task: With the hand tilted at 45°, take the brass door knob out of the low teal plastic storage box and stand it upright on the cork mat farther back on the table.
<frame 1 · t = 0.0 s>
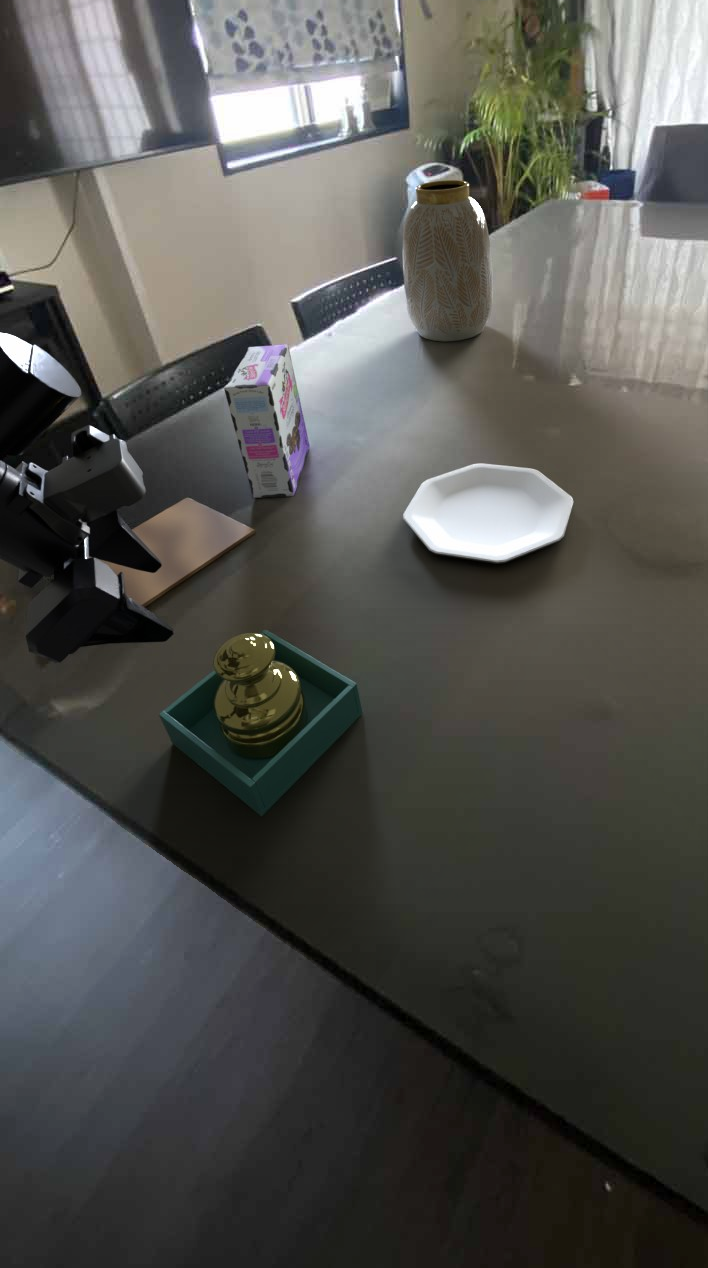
hand: (163, 600, 56), 13 cm above the table, tool tilted 35°, fingers open, 9 cm apart
storage box: (268, 728, 61), on the table
brass door knob: (267, 726, 61), resting on storage box
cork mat: (162, 552, 84), on the table
vase: (451, 330, 138), on the table
candy box: (283, 472, 97), on the table
plate: (488, 518, 84), on the table
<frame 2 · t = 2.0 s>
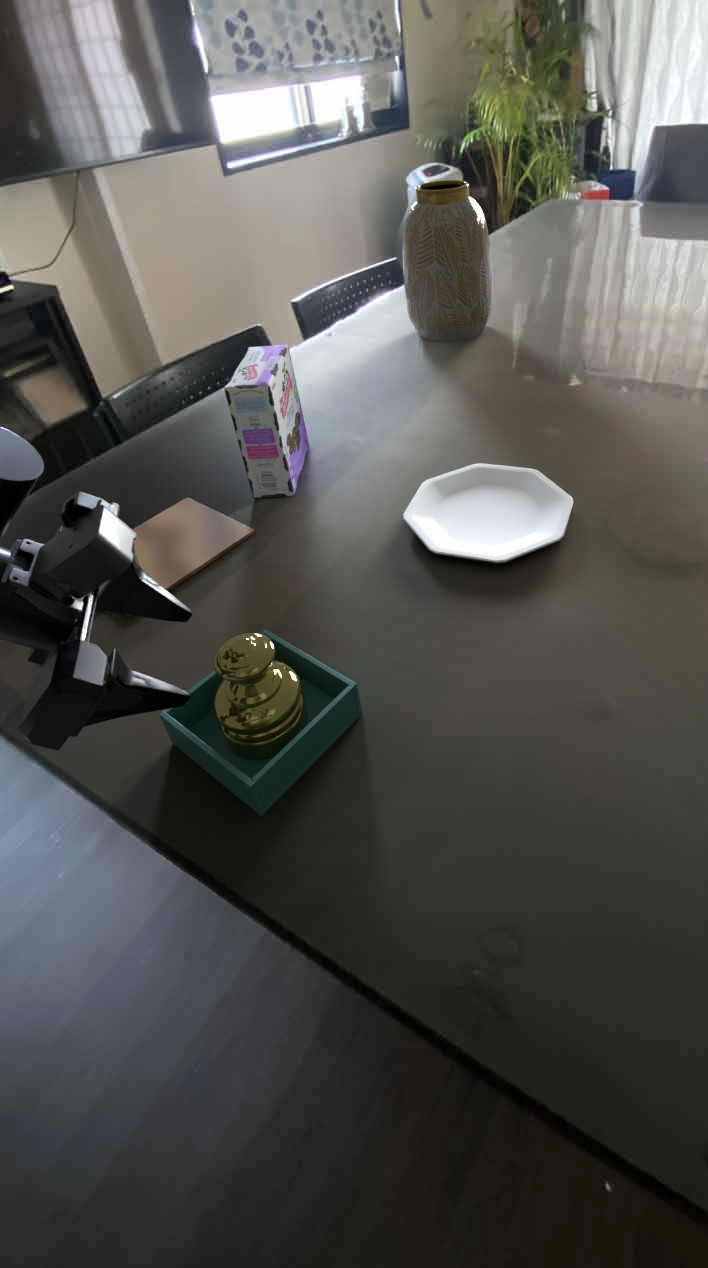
hand: (188, 655, 54), 11 cm above the table, tool tilted 45°, fingers open, 9 cm apart
nothing on the table moved.
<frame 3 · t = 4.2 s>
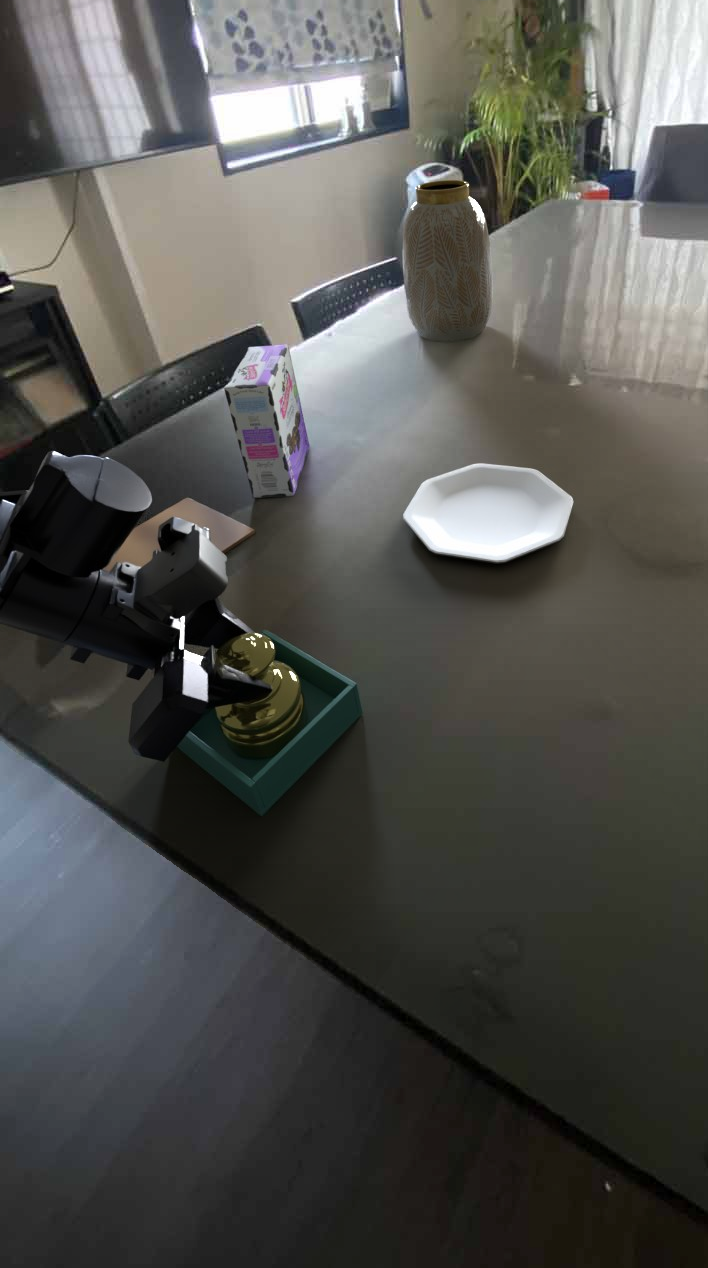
hand: (267, 670, 57), 7 cm above the table, tool tilted 45°, fingers closed on brass door knob, 5 cm apart
brass door knob: (267, 725, 61), resting on storage box, touching gripper
everything else where it was.
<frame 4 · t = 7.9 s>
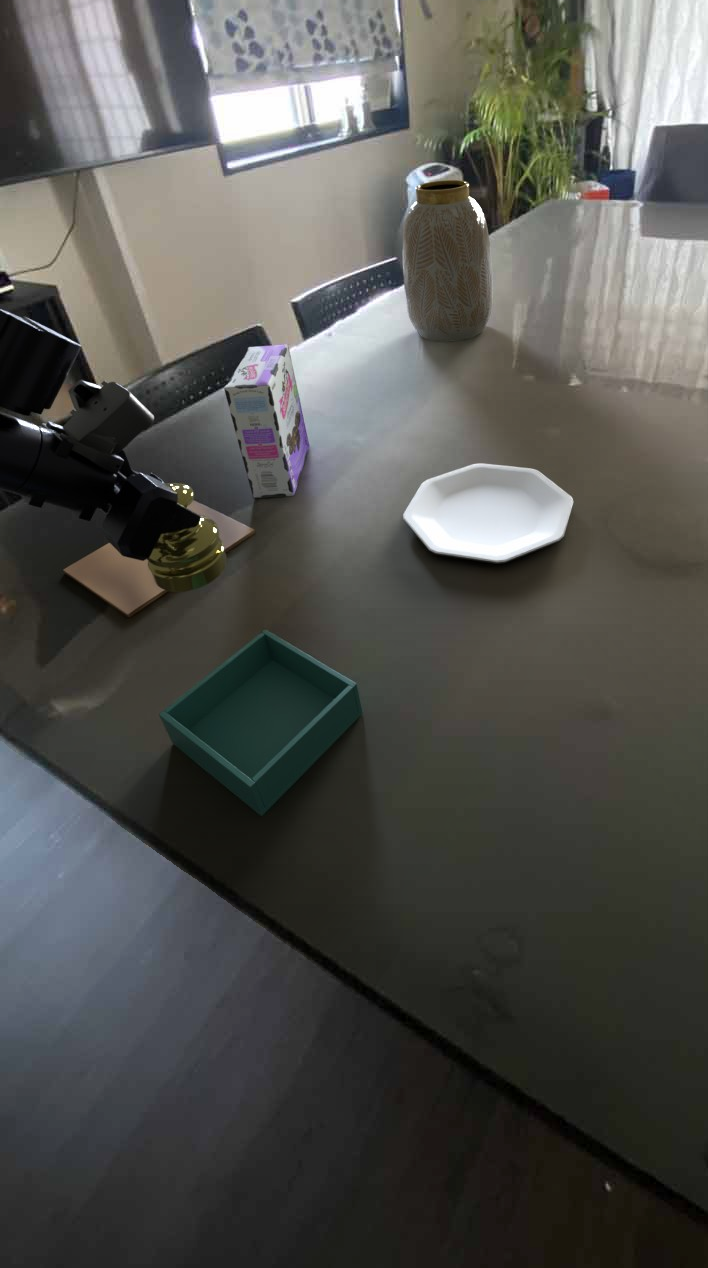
hand: (186, 511, 66), 13 cm above the table, tool tilted 45°, fingers closed on brass door knob, 5 cm apart
brass door knob: (192, 571, 70), point 6 cm above the table, touching gripper
everything else where it was.
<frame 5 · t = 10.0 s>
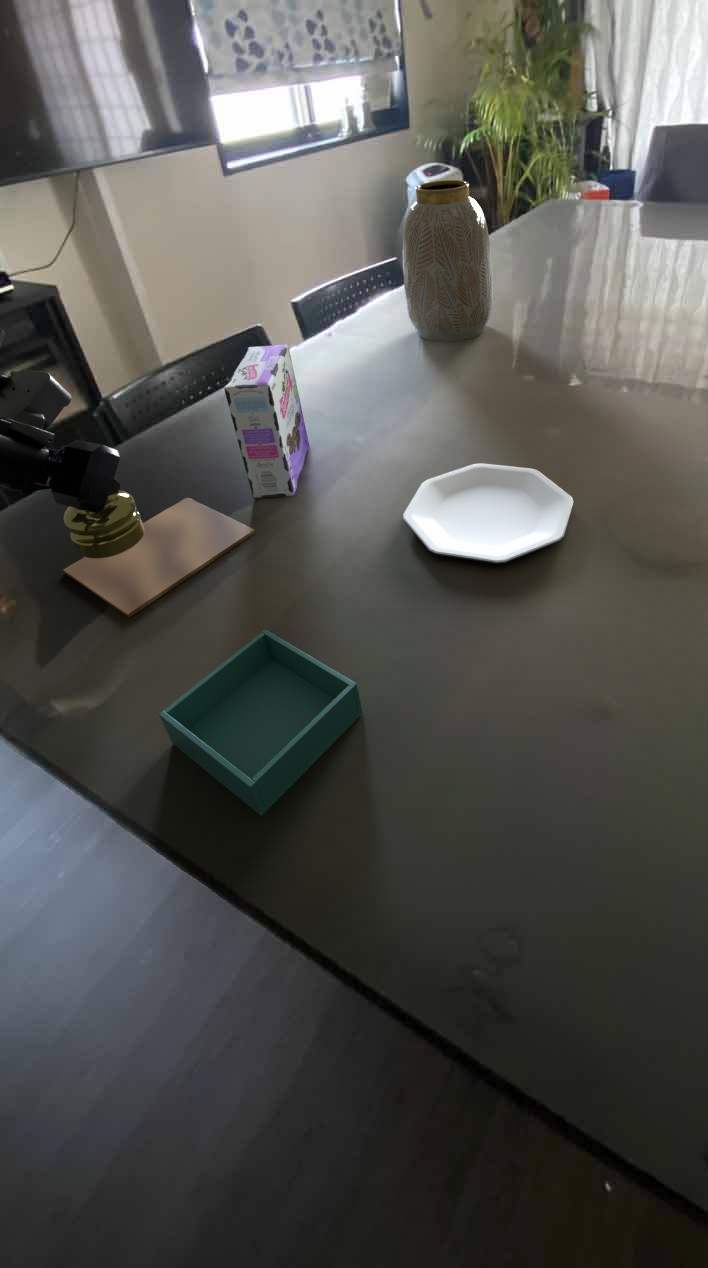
hand: (101, 484, 74), 12 cm above the table, tool tilted 45°, fingers closed on brass door knob, 5 cm apart
brass door knob: (112, 541, 77), point 6 cm above the table, touching gripper
everything else where it was.
when the fingers open (7 cm above the table, at t = 11.9 s): brass door knob stays where it is, resting on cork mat.
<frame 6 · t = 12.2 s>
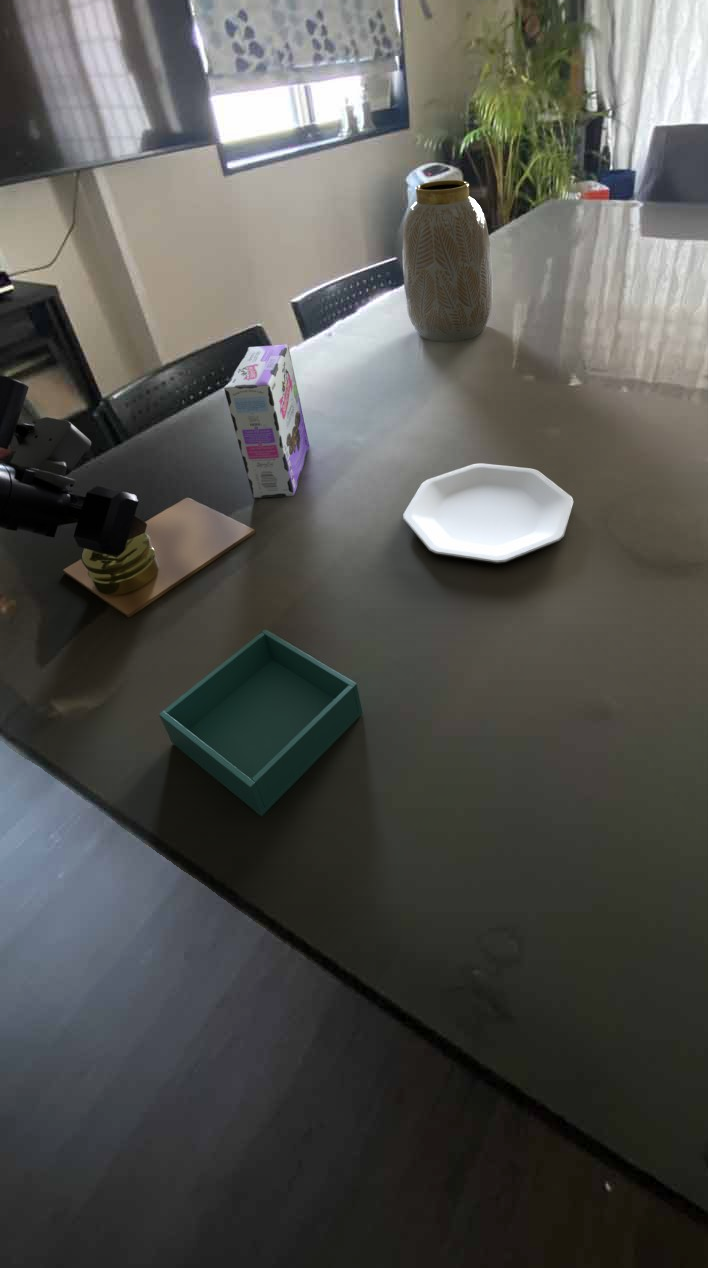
hand: (118, 521, 77), 7 cm above the table, tool tilted 45°, fingers open, 8 cm apart
brass door knob: (128, 577, 80), resting on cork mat
everything else where it was.
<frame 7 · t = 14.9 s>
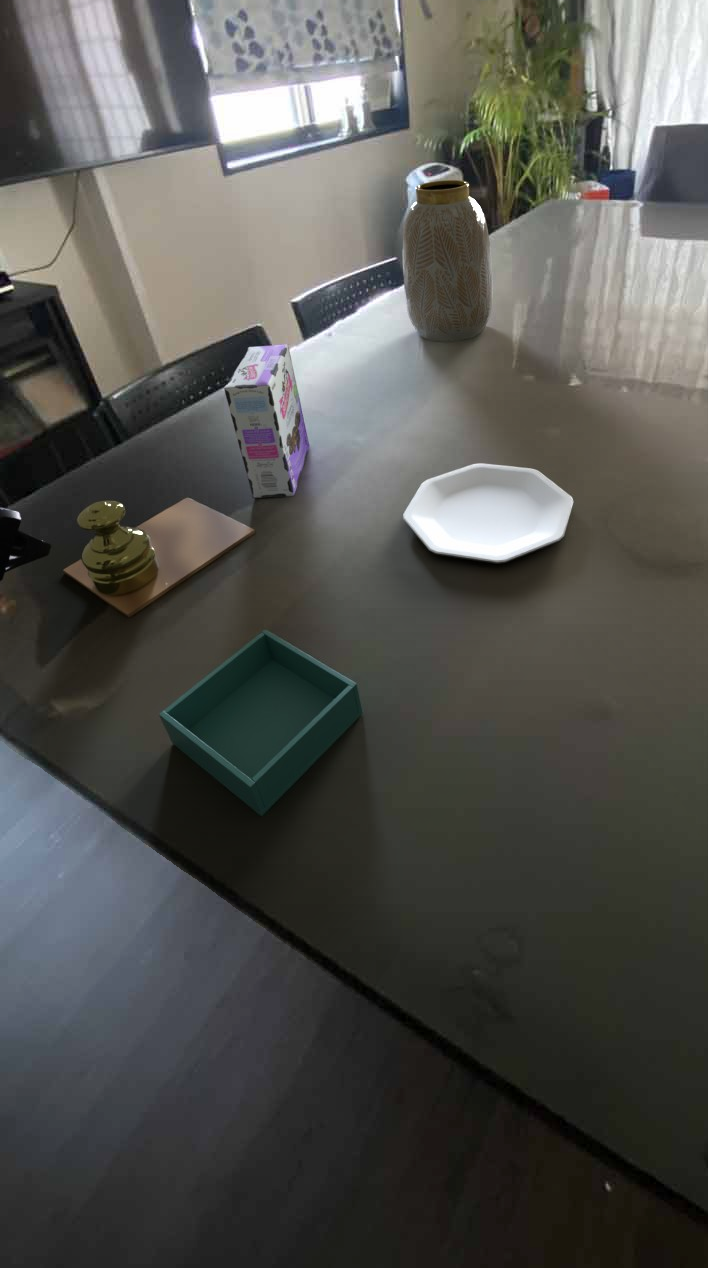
hand: (16, 540, 66), 12 cm above the table, tool tilted 45°, fingers open, 9 cm apart
nothing on the table moved.
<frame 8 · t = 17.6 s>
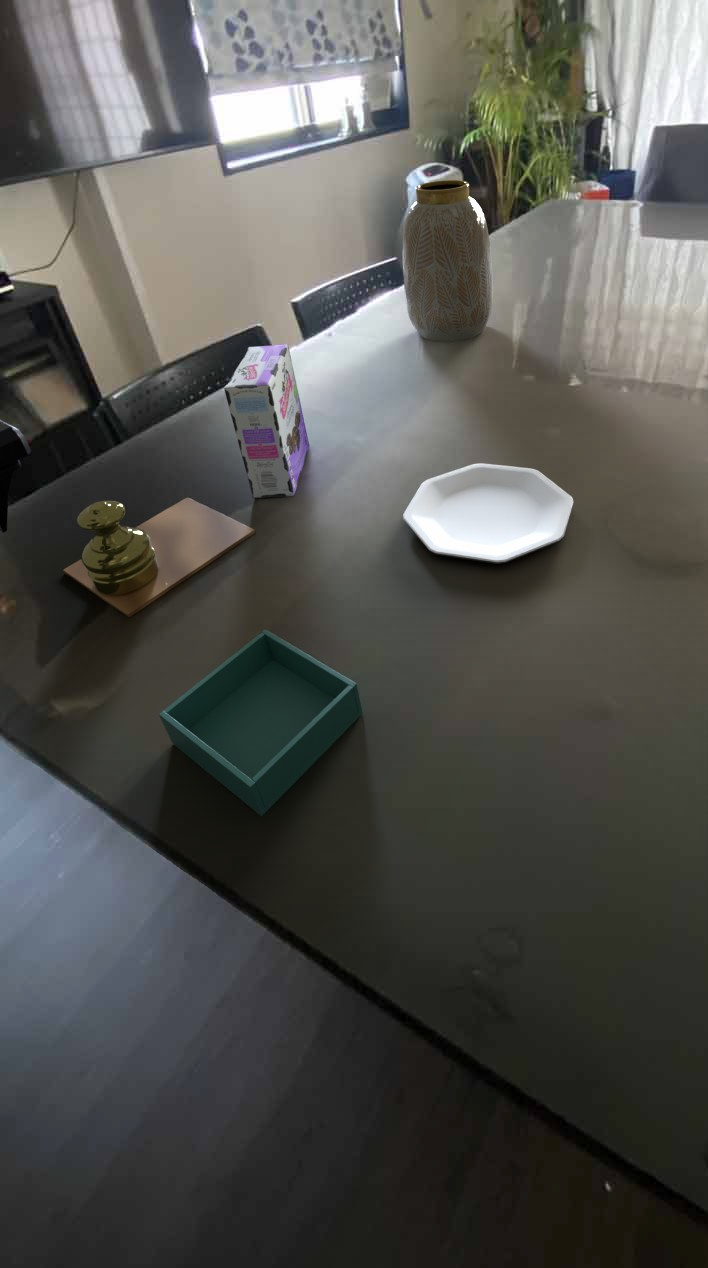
nothing on the table moved.
at the end: brass door knob inside the target area on the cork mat (2.3 cm from its centre), point 0.3 cm above the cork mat's base; brass door knob tilted 0°; the gripper is holding nothing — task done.
